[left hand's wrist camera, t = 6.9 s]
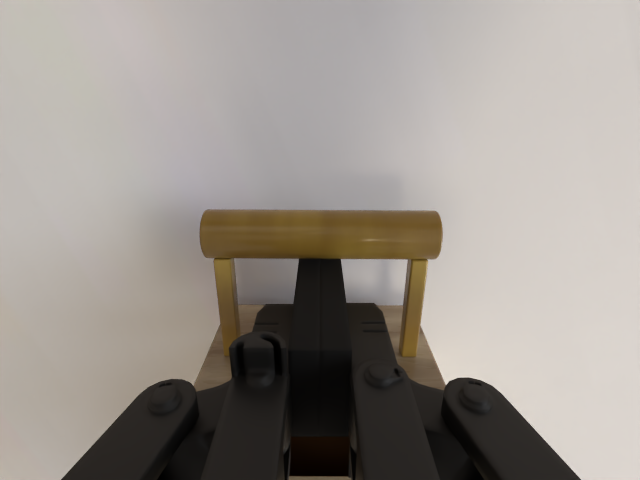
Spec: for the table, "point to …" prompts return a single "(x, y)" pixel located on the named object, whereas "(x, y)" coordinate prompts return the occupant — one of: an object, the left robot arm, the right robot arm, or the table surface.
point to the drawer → (322, 243)
